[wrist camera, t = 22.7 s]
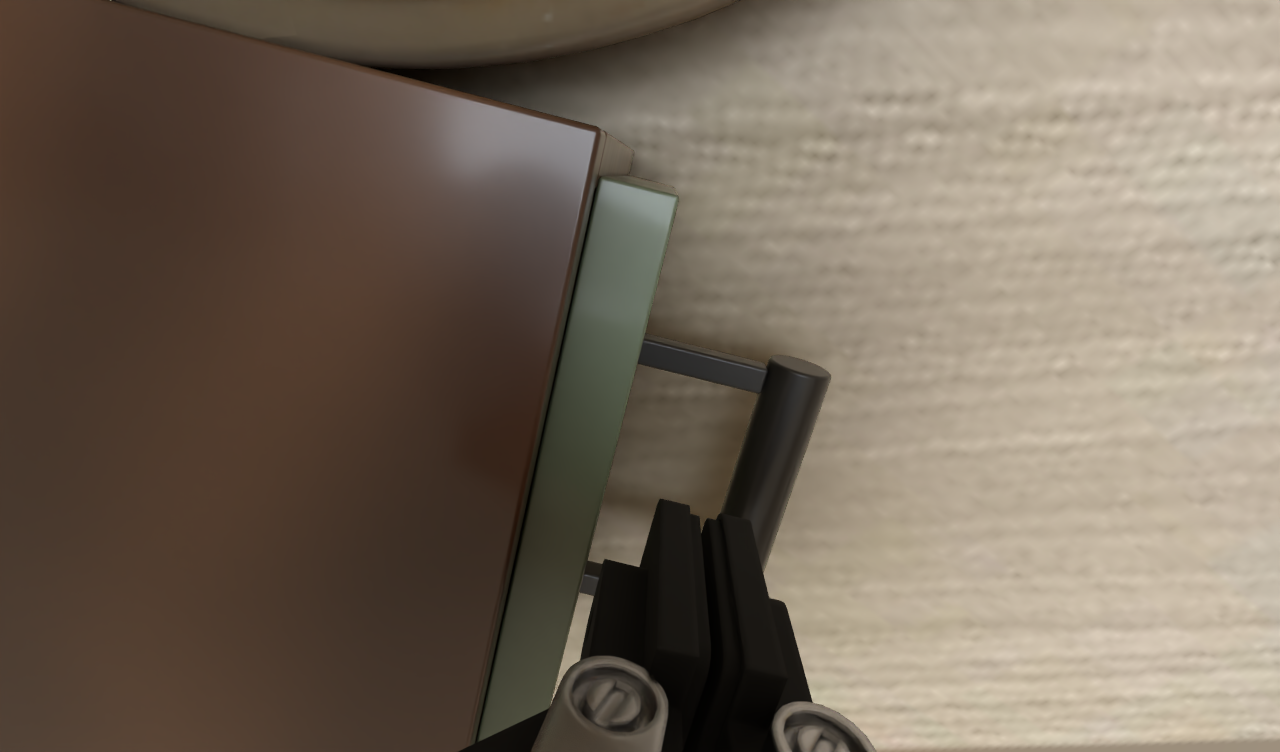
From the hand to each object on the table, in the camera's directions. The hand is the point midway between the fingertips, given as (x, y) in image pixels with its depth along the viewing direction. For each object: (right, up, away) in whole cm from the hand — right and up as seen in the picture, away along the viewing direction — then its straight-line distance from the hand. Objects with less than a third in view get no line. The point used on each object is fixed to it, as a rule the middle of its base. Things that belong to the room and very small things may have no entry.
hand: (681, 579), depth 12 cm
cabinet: (-10, +5, +7) cm, 12 cm away
